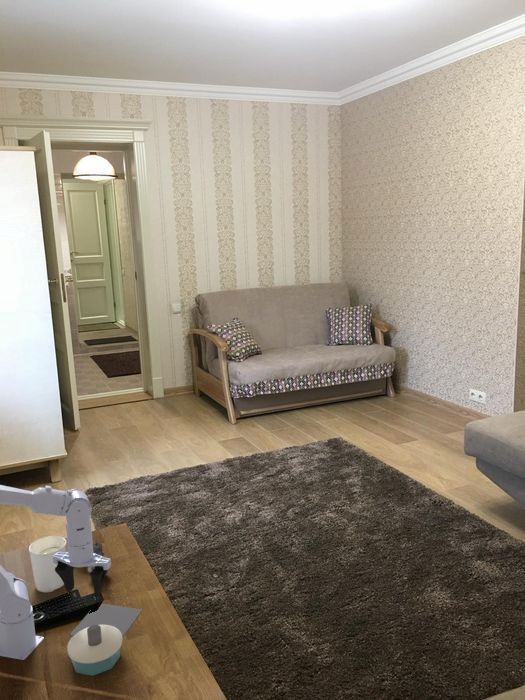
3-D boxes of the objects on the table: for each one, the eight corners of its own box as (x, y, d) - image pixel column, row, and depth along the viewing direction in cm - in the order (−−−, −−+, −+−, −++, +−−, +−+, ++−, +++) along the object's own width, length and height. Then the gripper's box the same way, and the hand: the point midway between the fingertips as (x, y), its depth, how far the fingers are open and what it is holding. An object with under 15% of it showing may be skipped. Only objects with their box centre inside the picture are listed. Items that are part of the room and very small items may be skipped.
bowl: (64, 672, 133) (62, 656, 132) (88, 642, 142) (86, 628, 142) (105, 680, 130) (104, 663, 130) (126, 649, 140) (125, 634, 139)
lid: (57, 659, 131) (55, 643, 131) (85, 624, 143) (83, 609, 142) (106, 667, 129) (105, 650, 128) (131, 631, 140) (130, 616, 139)
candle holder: (25, 590, 164) (20, 550, 162) (50, 571, 173) (46, 533, 171) (53, 597, 161) (49, 556, 158) (77, 578, 170) (73, 539, 167)
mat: (69, 637, 145) (69, 634, 145) (97, 604, 157) (97, 602, 157) (118, 644, 142) (118, 642, 141) (142, 611, 154) (142, 609, 154)
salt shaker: (104, 586, 165) (101, 546, 163) (84, 584, 167) (81, 544, 164) (113, 574, 171) (110, 535, 169) (94, 572, 172) (91, 534, 170)
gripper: (115, 535, 145) (119, 586, 148) (62, 529, 149) (67, 579, 152) (100, 550, 139) (105, 603, 141) (45, 543, 142) (51, 595, 145)
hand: (84, 591), depth 146 cm, fingers open, 7 cm apart
